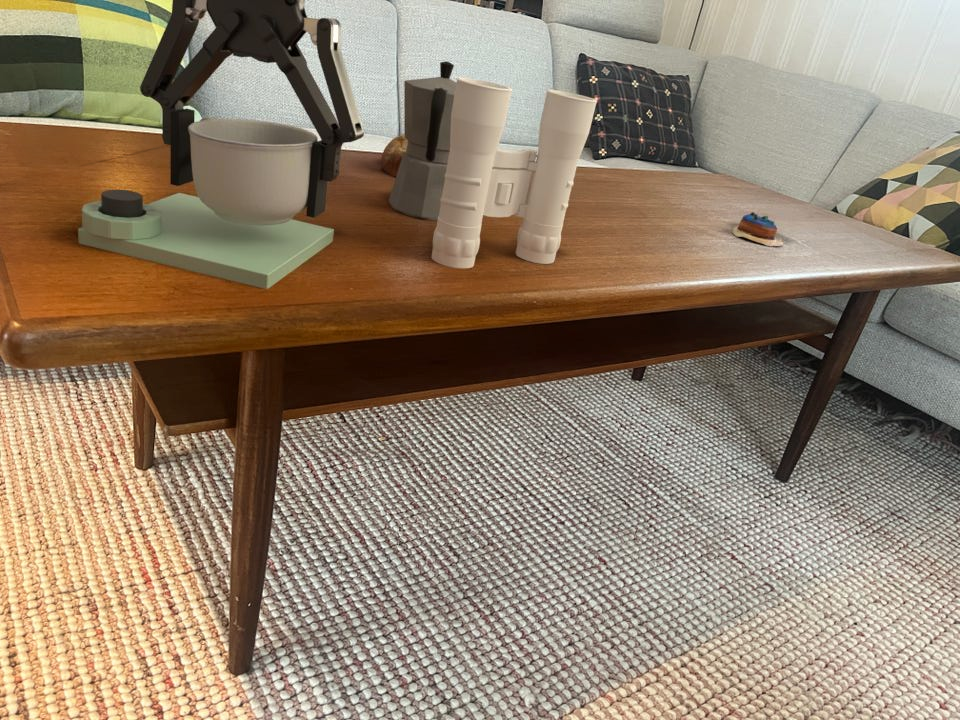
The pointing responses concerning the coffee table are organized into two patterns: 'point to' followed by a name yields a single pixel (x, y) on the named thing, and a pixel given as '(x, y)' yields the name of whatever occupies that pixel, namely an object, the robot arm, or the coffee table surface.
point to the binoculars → (508, 173)
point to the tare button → (122, 203)
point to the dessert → (758, 230)
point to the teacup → (251, 169)
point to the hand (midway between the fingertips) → (248, 198)
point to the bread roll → (394, 154)
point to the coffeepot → (425, 145)
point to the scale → (205, 240)
